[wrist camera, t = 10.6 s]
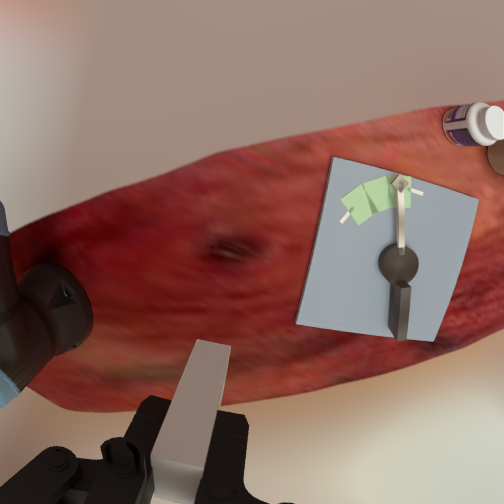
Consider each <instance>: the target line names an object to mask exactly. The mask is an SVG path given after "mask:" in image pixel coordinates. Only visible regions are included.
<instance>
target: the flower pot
mask: <svg viewBox="0 0 504 504" xmlns="http://www.w3.org/2000/svg"><path fill="white" fill-rule="evenodd" d="M487 157H488V160H489V163H490V165H491V167H492V168H493V170H494V171H495V172H497V173H499V174H501V175H504V139H502V140H497V141H496V142H495V143H494V144H492V145H489V146H488V153H487Z"/></svg>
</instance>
